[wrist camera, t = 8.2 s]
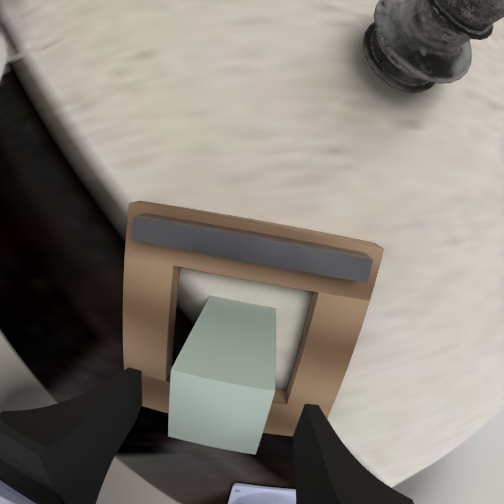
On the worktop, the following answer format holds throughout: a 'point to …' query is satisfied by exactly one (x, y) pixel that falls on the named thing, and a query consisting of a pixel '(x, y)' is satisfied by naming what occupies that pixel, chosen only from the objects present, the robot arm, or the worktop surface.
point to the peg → (225, 377)
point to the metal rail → (252, 247)
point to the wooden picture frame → (171, 259)
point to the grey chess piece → (427, 39)
